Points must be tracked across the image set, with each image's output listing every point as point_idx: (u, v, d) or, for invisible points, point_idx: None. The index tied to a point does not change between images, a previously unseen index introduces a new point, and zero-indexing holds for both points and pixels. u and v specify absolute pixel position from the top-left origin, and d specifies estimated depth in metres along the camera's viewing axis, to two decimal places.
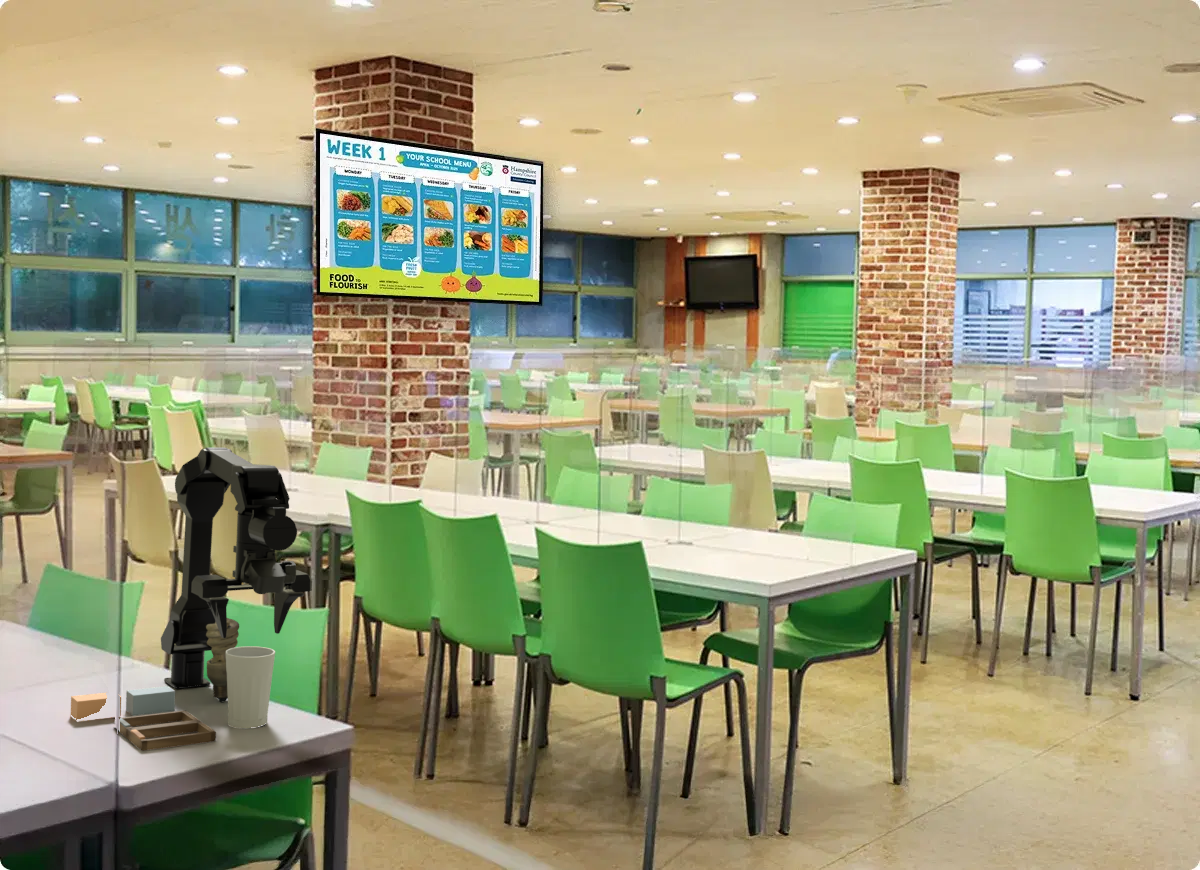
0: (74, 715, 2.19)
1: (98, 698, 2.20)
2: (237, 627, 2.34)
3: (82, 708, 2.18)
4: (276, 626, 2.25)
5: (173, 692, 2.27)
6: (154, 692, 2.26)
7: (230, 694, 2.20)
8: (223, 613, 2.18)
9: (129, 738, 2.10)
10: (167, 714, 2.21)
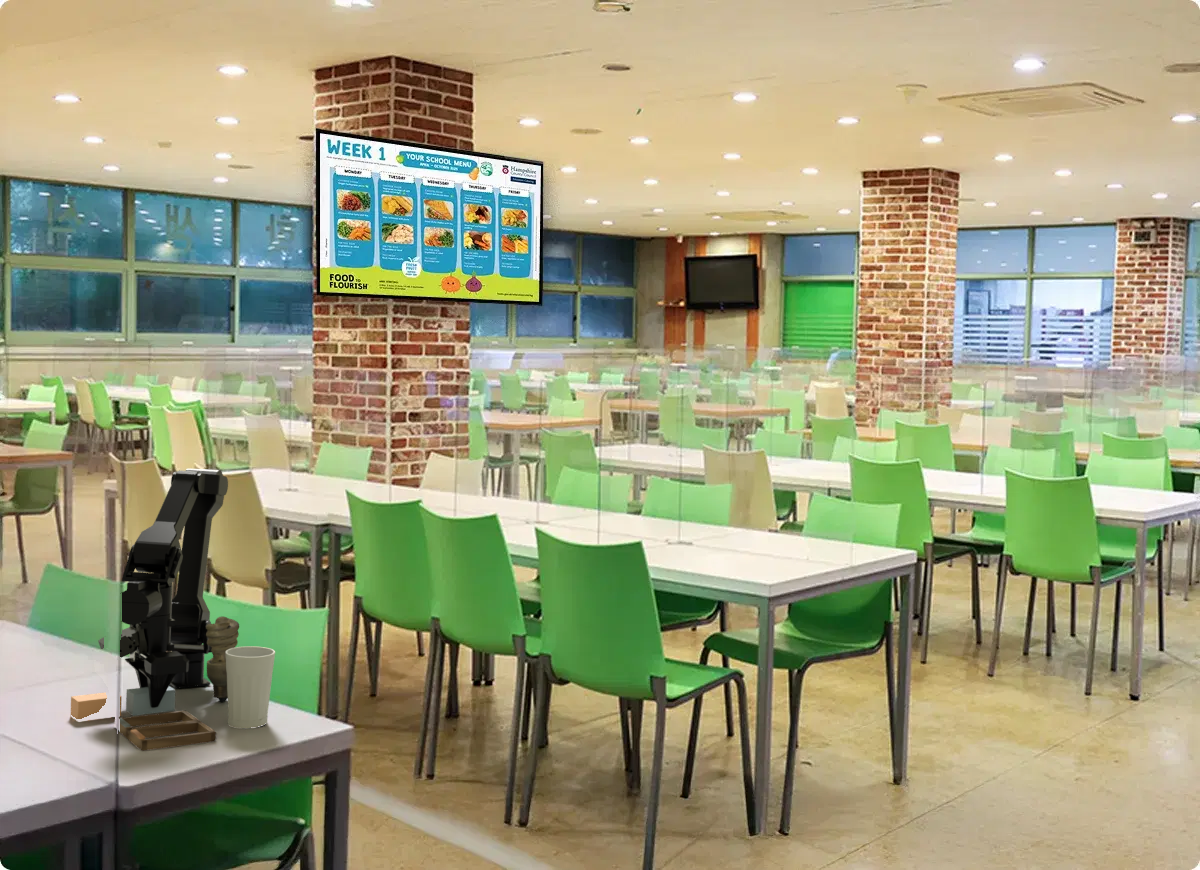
0: (75, 715, 2.19)
1: (98, 698, 2.20)
2: (237, 627, 2.34)
3: (83, 708, 2.19)
4: None
5: (173, 691, 2.27)
6: None
7: (230, 694, 2.20)
8: (138, 676, 2.28)
9: (129, 738, 2.10)
10: (167, 714, 2.21)
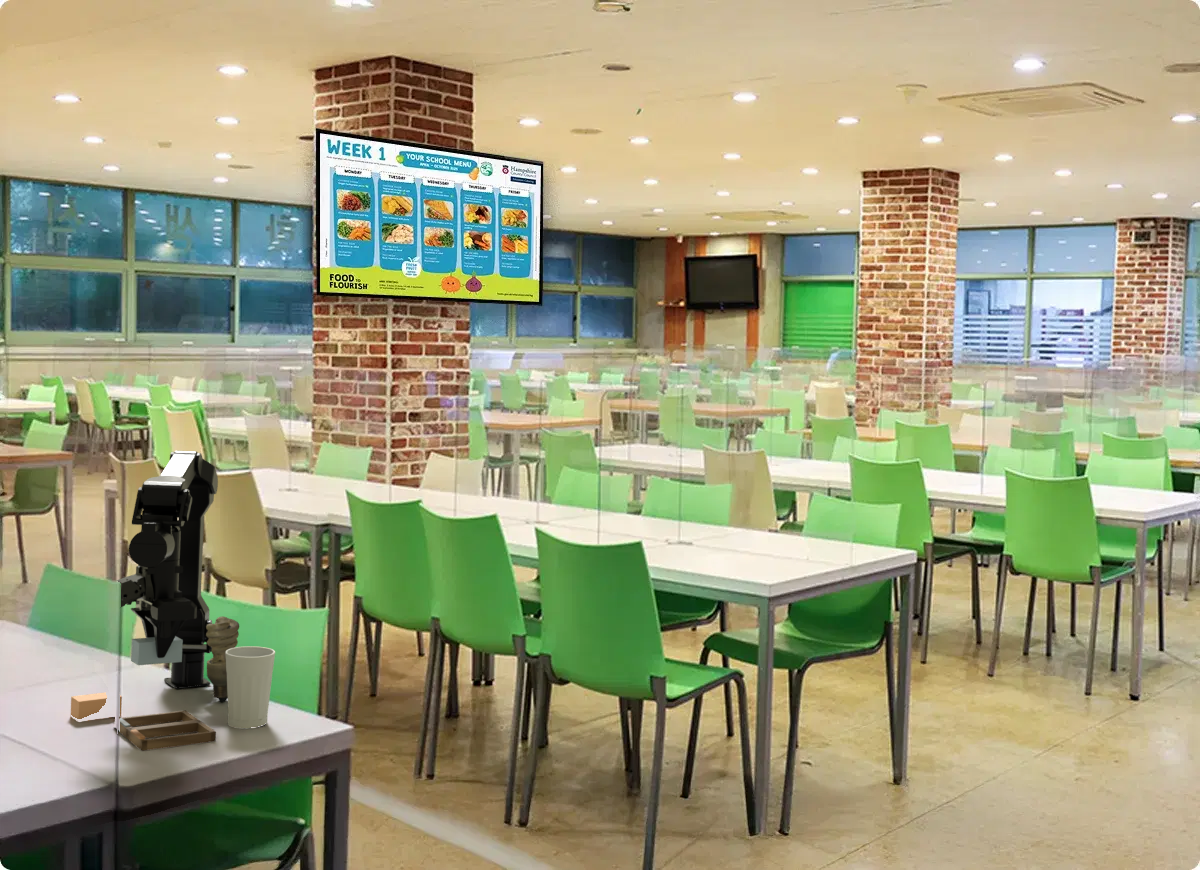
0: (75, 715, 2.19)
1: (99, 698, 2.21)
2: (237, 627, 2.34)
3: (83, 708, 2.19)
4: None
5: (180, 641, 2.18)
6: None
7: (230, 694, 2.20)
8: (144, 626, 2.18)
9: (129, 738, 2.10)
10: (167, 714, 2.21)
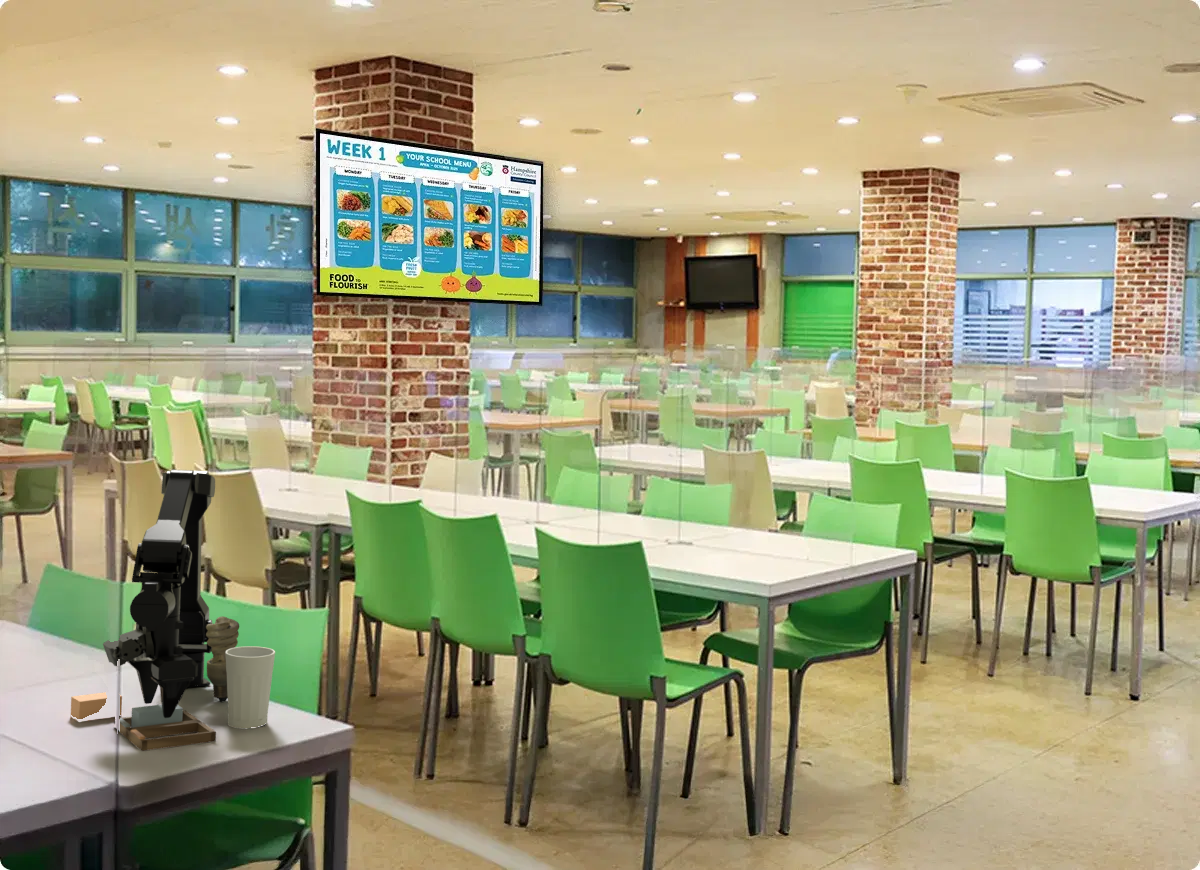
0: (75, 715, 2.19)
1: (99, 698, 2.21)
2: (237, 627, 2.34)
3: (84, 708, 2.19)
4: None
5: (181, 709, 2.17)
6: (161, 709, 2.16)
7: (230, 694, 2.20)
8: (140, 677, 2.20)
9: (129, 738, 2.10)
10: None
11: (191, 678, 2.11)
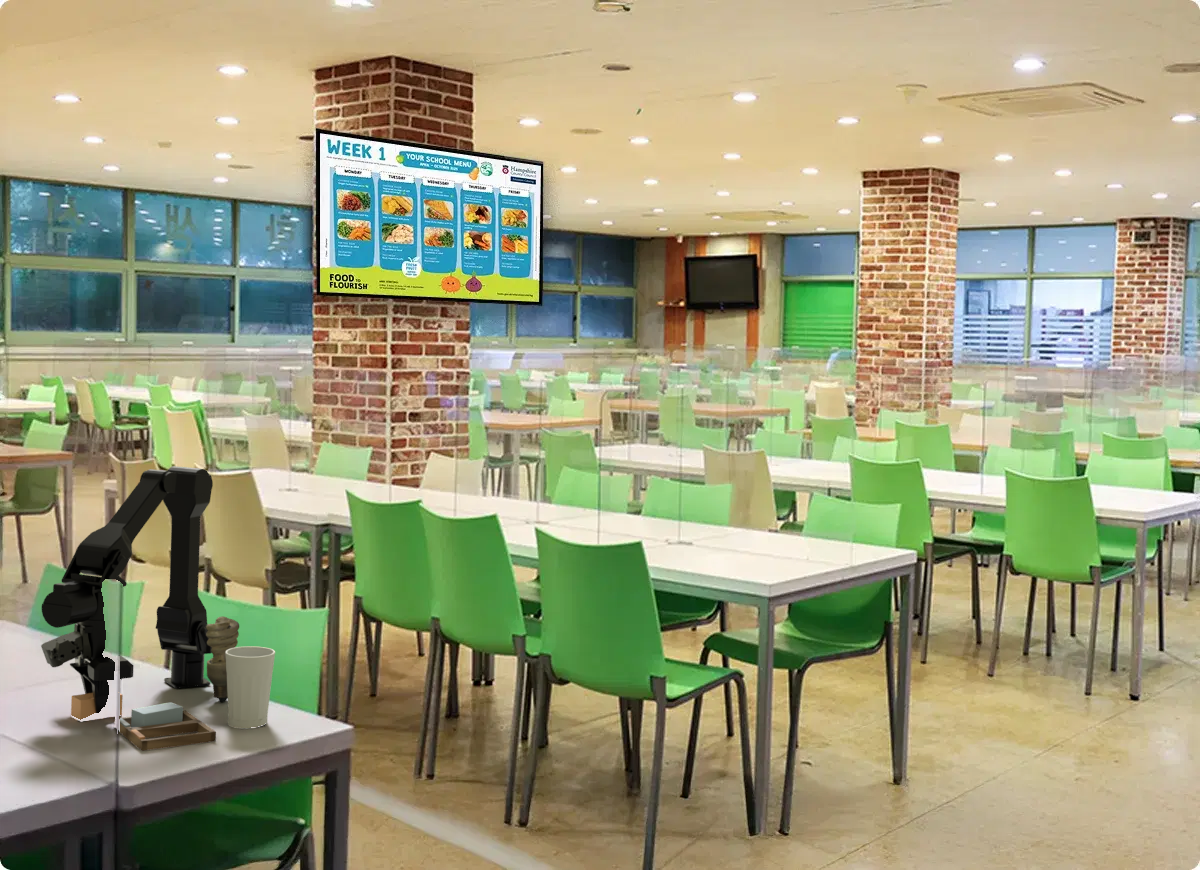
0: (76, 714, 2.19)
1: None
2: (237, 627, 2.34)
3: (85, 707, 2.18)
4: None
5: (181, 708, 2.18)
6: (162, 709, 2.16)
7: (230, 694, 2.20)
8: (83, 681, 2.23)
9: (129, 738, 2.10)
10: None
11: None
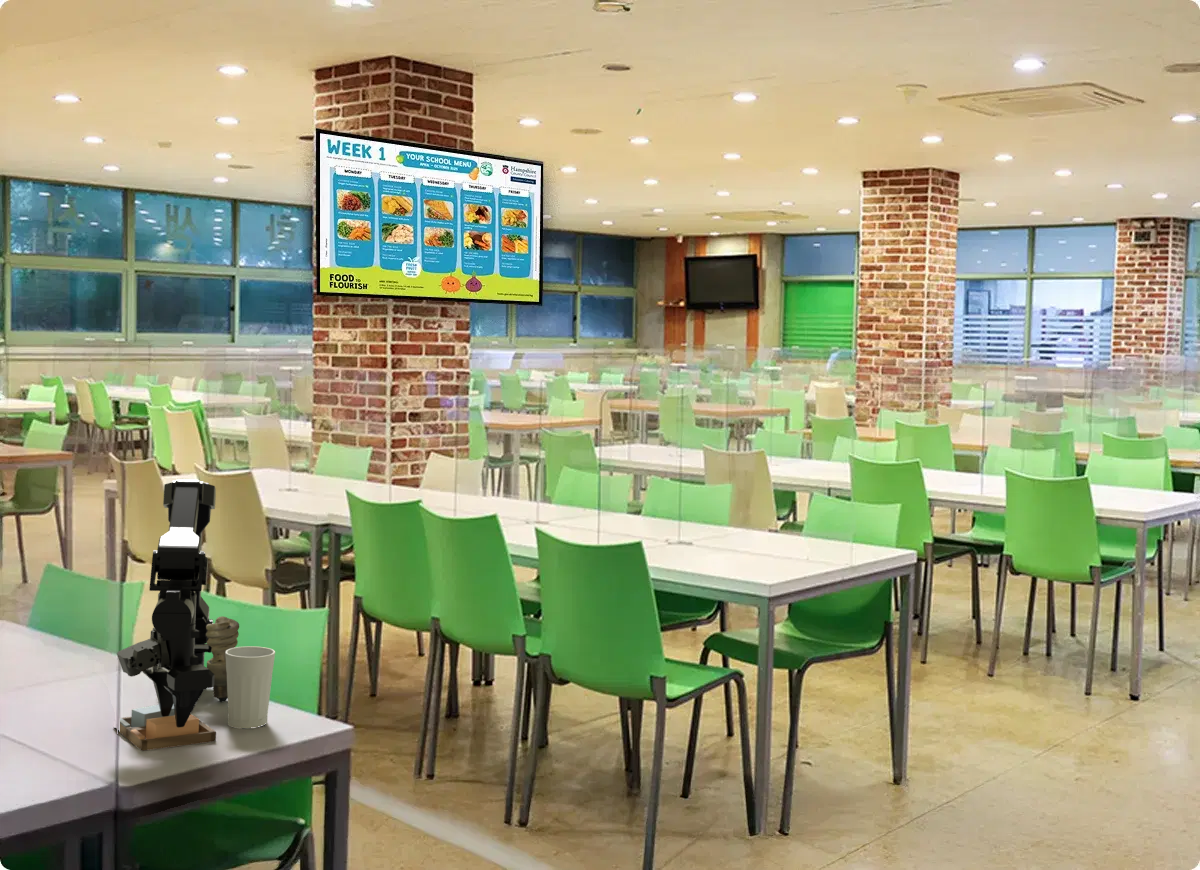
0: None
1: None
2: (237, 627, 2.34)
3: (160, 732, 2.08)
4: None
5: None
6: None
7: (230, 694, 2.20)
8: (156, 689, 2.13)
9: (129, 738, 2.10)
10: None
11: None
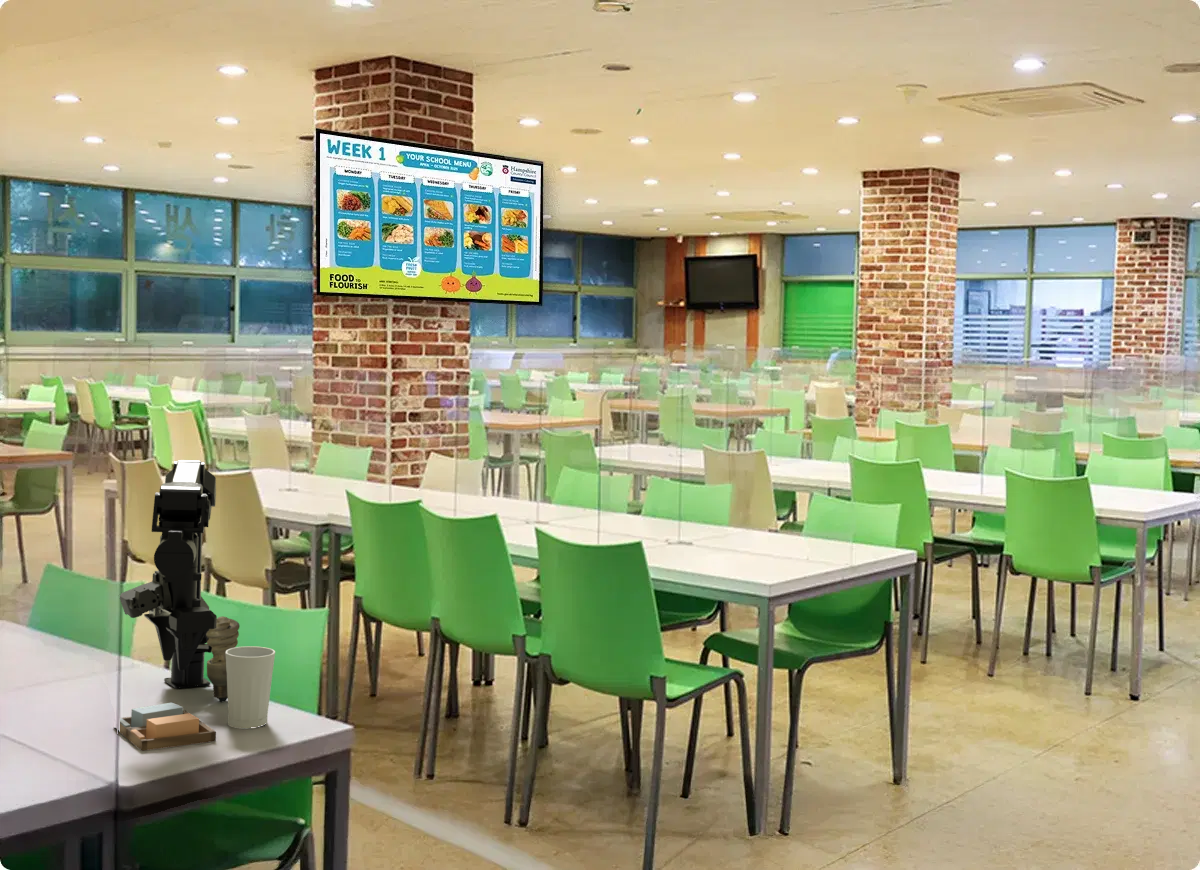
0: None
1: (176, 720, 2.10)
2: (237, 627, 2.34)
3: (161, 731, 2.08)
4: None
5: (181, 708, 2.18)
6: (162, 709, 2.16)
7: (230, 694, 2.20)
8: (158, 633, 2.13)
9: (129, 738, 2.10)
10: None
11: (207, 629, 2.06)
